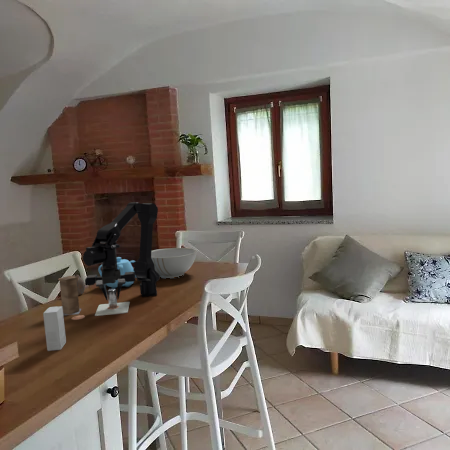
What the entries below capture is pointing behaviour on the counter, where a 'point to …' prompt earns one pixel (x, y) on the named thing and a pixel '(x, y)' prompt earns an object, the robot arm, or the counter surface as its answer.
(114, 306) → the pin
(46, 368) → the counter surface
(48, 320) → the skincare box
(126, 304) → the board
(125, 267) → the decorative pot
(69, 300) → the tan tall block
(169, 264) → the decorative bowl
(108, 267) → the robot arm
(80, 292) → the vase
